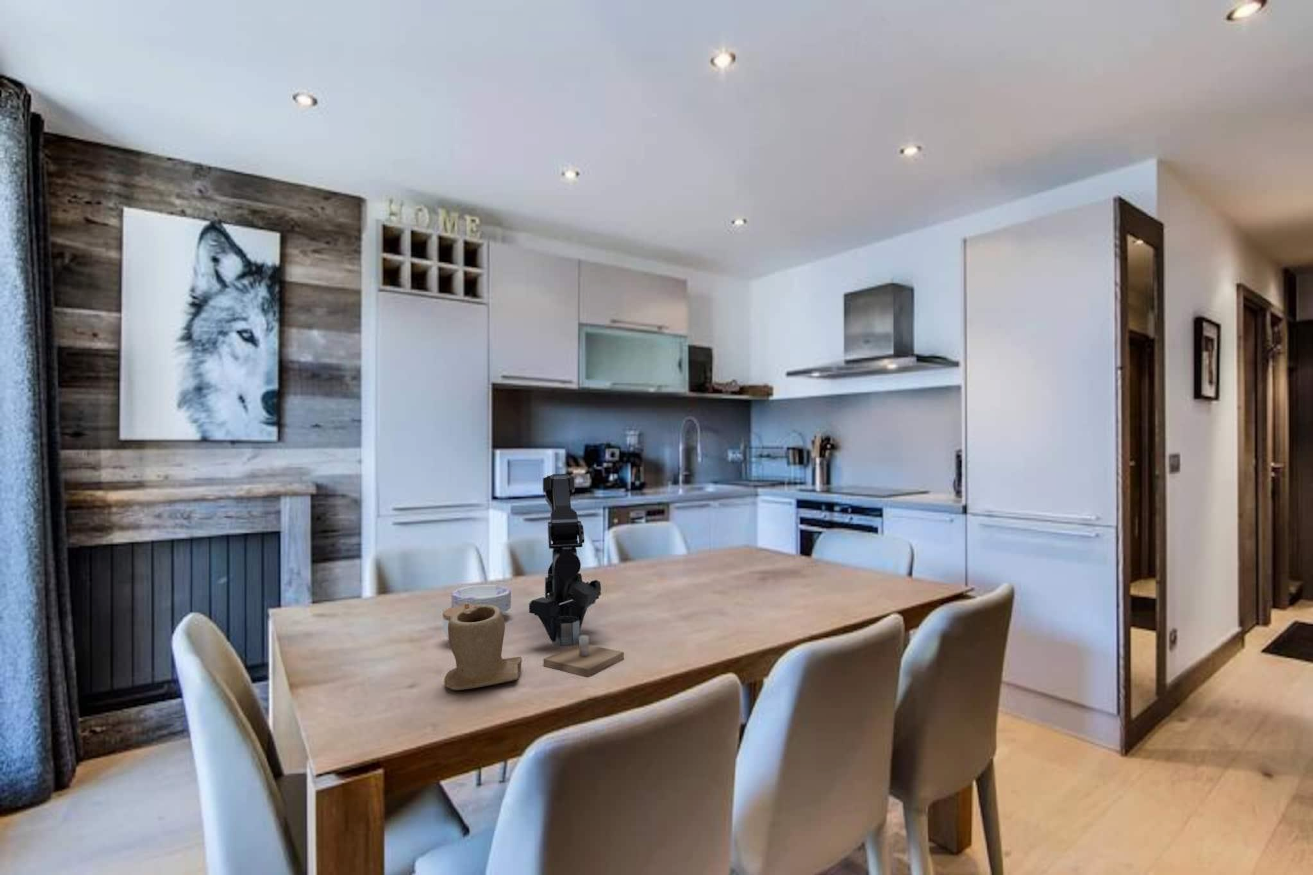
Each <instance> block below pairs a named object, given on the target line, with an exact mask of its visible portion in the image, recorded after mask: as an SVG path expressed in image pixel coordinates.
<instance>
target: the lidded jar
mask: <svg viewBox="0 0 1313 875" xmlns="http://www.w3.org/2000/svg"><path fill="white" fill-rule="evenodd" d="M474 606H477V605H474V604H473V605H469V603H465V605H461V606H456V607H452V606H451V607H449V608H446V609H445V610H444V611H442V619H443V621H442V622H443V630H444V633H445V636H446V638H447V640H449V635H448V623H449V620H450V618H451V617H452V616H453V615H454V614H455V613H457V612H458V611H460V610H463V609H470V608H472V607H474Z"/></svg>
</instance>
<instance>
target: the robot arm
mask: <svg viewBox="0 0 1313 875" xmlns="http://www.w3.org/2000/svg"><path fill="white" fill-rule="evenodd" d="M575 484H576V483H575V477H574V476H571V475H570V474H567V473H553V474H551V475H547V476H545V477H543V478H542V493H543V494H544V493H545V494H544V495H545V502H546V503H547V505H548V506H549V507H550V509H551V513H550V521H548V522H547V539H548V540H547V541H548V549H549V550H550V549H552V551H551V552H552V553H551V554H552V562H551V563H550V566H549V567H548V570H547V576H546V577H544V596H542V597H539V598H538V597H537V598H535V599H532V600H531V601H530V602H529V603H528V612H529V614H532V615H534V616H537V617H538V619H539V620H540V621H541V624H542V625H543V627H544V628H545V631H546V632H547V635H548V637H549V639H550V640H551V642H552V641H554V642H555V641H556V635H557V619H558V618H559V617H560V616H575V617H579V620H580V629H581V628H582V625H583V621H584V619H585V615H586V612H587V610H588V608H589V607H591V605H594V604H595V603H596V600H598V599H599V598H600V596H601V595H602V592H601V591H602V587H601V586H602V584H601V581H599V580H598V579H593V580H591V581H590V582H588V581H586V582H585V581H583V576H582V574H581V573H580V571H581V569H582V568H581V566H582V564H581V559H580V557H579V556H578V550H577V548H583V544H584V543H585V532H584V525H583V524H582V521H581V520H579V519H578V517H579V516H578V513H577V511H576V510H574V509H573V508H572V502H571V500H572V495H573V493H574V492H575V490H576V489H575V488H576V486H575Z"/></svg>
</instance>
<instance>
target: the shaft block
mask: <svg viewBox="0 0 1313 875" xmlns="http://www.w3.org/2000/svg"><path fill="white" fill-rule="evenodd" d="M589 637H590V636H589V635H587V634H580V636H579V642H578V643H576V644H574V645H571V646H570V647H568V648H565V649H562V650H561V651H558V652H556V653H554V654H551V655H549V656H547V657H545V658H543V667H545V668H549V669H553V670H559V671H562V672H566V673H571V674H575V675H579V676H582V677H585V678H586V677H587V678H590V677H592V676H593V675H595V674H597V673H599V672H601V671H603V670H605V669H607V668H609V667H611V666H613V665H615V664H617V663H619V662H621V661H623V660H624V659H625V653H624V651H621V650H615V649H611V648H606V647H601V646H597V645H594V644H593V645H592V644H589V641H590V639H589Z"/></svg>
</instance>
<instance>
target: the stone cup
mask: <svg viewBox="0 0 1313 875" xmlns="http://www.w3.org/2000/svg"><path fill="white" fill-rule="evenodd" d="M504 618H505V617H504V614H502V612H501V610H500V609H499V608H498V607H496V606H493V605H477V606H474V607H472V608H470V609H463V610H460V611H458V612H457V613H455V614H454V615H453V616H452V617H451V618H450V620H449V623H448V635H449V639H448V643H449V647H450V650H451V651H452V655H453V656H454V657H453V658H454V659H455V663H456V664H455V665H456V667H455V668H452V669H451V670H449V671H448V672H447V673H446V674H445V676H444V681H443V682H444V685H445V687H447V688H448V689H450V690H453V691H461V690H470V689H471V690H472V689H476V688H482V687H488V686H492V685H498V684H503V683H508V682H513V681H517V680H518V679H519V677H520V674H521V671H522V661H523V660H522V659H523V658H522V656H516V657H507V658H503V657H502V653H503V652H502V650H503V643H504V639H505V631H506V623H505V622H506V621H505V619H504Z"/></svg>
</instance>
